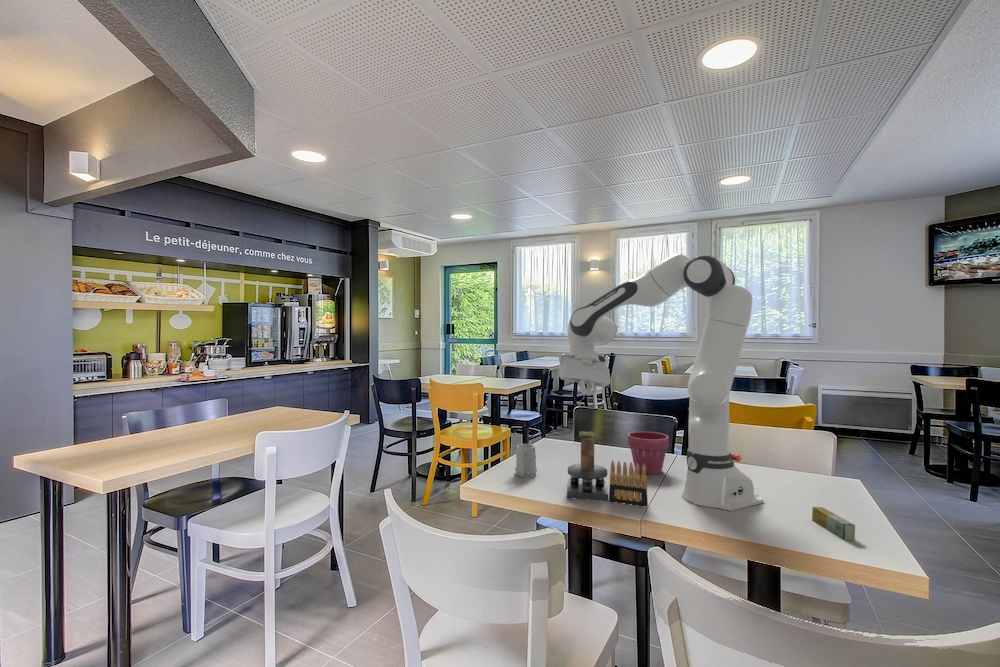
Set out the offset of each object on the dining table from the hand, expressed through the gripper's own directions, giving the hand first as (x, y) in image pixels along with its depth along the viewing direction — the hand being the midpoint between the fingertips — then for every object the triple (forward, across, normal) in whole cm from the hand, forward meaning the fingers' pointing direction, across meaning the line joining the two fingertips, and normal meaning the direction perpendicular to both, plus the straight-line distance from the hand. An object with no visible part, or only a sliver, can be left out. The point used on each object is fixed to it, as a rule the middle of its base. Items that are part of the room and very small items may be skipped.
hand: (587, 394), depth 156 cm
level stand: (+32, -4, +1) cm, 32 cm away
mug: (+24, -13, +22) cm, 35 cm away
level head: (+27, -5, -2) cm, 27 cm away
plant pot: (+22, +30, +7) cm, 38 cm away
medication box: (+46, +35, -46) cm, 74 cm away
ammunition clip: (+36, +2, -11) cm, 38 cm away
